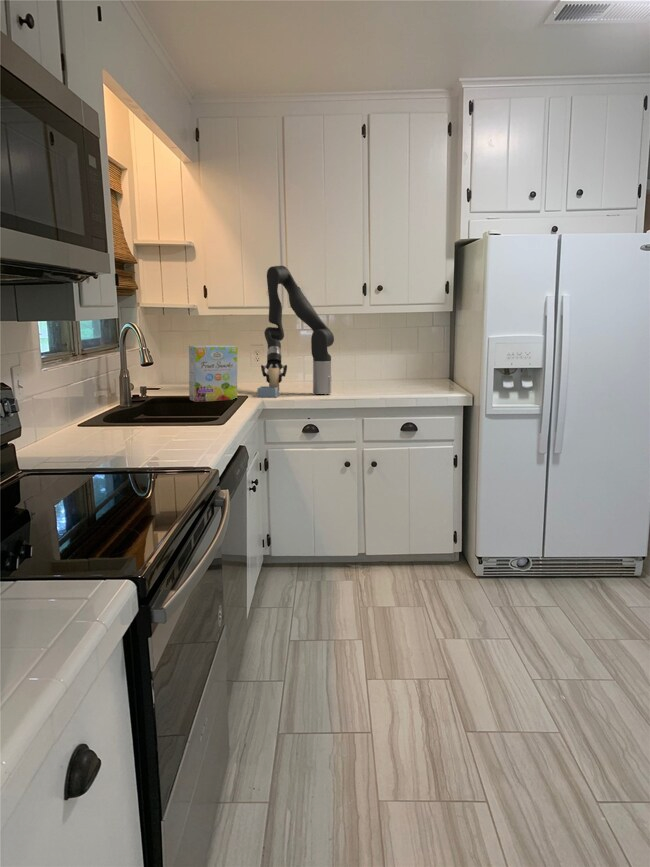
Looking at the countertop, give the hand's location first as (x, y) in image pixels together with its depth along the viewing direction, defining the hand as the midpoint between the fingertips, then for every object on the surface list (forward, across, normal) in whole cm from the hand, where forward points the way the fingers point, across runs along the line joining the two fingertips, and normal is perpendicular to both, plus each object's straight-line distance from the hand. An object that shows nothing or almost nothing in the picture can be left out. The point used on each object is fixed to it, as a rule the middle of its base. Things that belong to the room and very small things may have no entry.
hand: (274, 381), depth 316 cm
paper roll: (+2, 0, +5) cm, 6 cm away
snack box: (+20, -28, -11) cm, 36 cm away
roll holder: (+10, -3, 0) cm, 10 cm away
